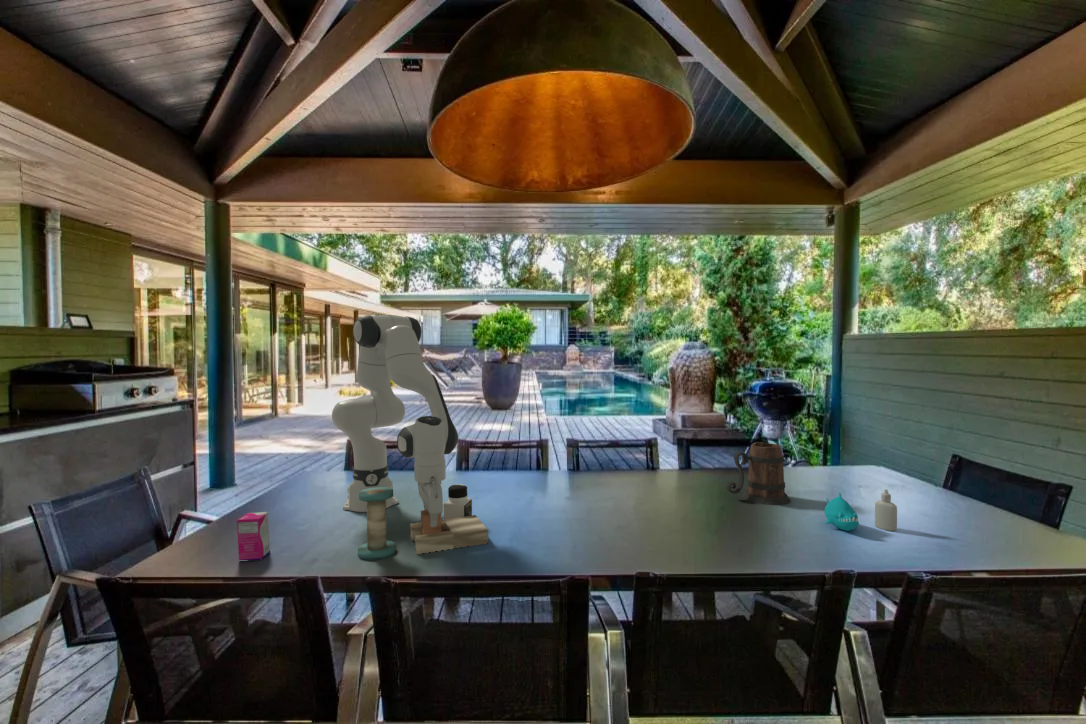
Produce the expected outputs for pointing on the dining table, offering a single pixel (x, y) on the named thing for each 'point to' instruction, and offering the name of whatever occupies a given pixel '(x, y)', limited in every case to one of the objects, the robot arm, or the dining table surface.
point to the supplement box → (253, 536)
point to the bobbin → (376, 524)
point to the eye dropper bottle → (886, 513)
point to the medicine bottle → (457, 502)
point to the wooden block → (426, 523)
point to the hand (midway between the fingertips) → (430, 520)
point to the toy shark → (841, 514)
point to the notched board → (450, 535)
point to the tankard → (762, 475)
